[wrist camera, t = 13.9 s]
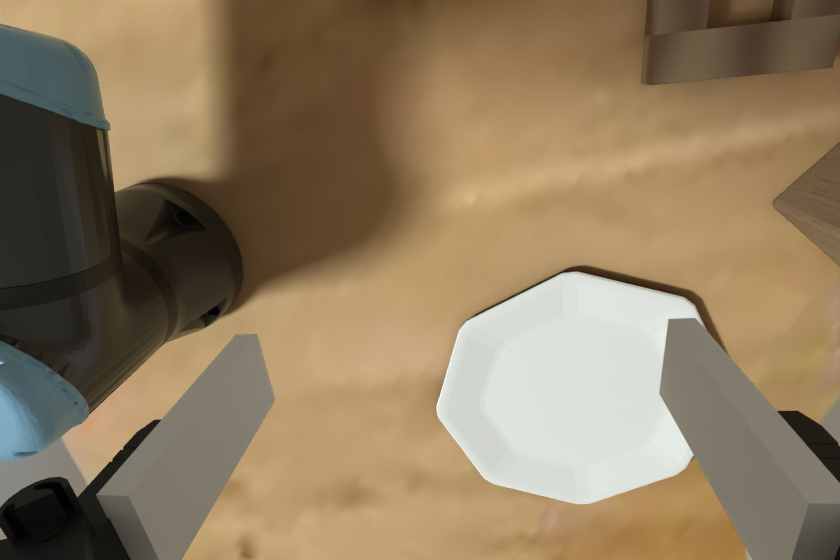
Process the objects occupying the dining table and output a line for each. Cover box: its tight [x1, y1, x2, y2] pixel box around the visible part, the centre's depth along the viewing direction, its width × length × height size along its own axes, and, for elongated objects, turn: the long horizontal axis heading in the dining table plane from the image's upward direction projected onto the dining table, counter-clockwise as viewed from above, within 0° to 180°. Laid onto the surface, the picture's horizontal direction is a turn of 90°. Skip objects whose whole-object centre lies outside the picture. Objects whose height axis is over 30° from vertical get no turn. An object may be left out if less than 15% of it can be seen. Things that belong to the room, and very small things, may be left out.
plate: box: [436, 271, 706, 504], centre depth 50 cm, size 28×28×2 cm
